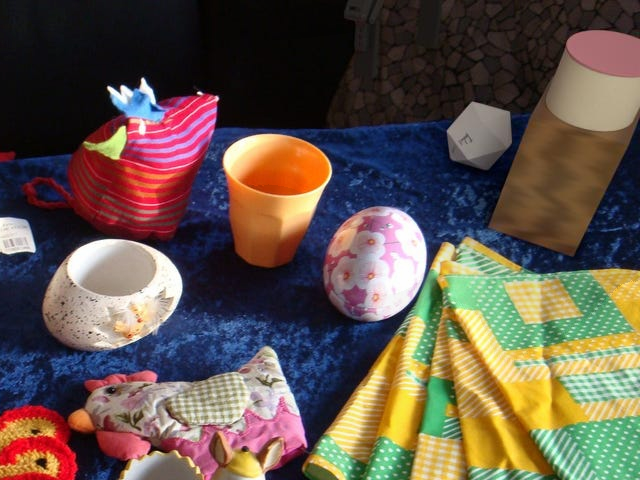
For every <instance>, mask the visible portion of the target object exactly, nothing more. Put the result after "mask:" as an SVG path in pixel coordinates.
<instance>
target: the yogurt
mask: <svg viewBox="0 0 640 480" xmlns="http://www.w3.org/2000/svg"><path fill="white" fill-rule="evenodd" d="M553 76H554V79H553V81H552V84H551V86H550V89H549V91H548V94H547V96H546V105H547V107H548V109H549V110H550V111H551V113H552V114H554V115H555V116H556V117H557V118H559V119H561V120H562V121H564V122H566V123H568V124H571V125H573V126H576V127H579V128H583V129H587V130H592V131H616V130H620V129H623V128H626V127H627V126H629V125H630V124H631V123H632V122H633V120H634V118H635V116H636V114H637V112H638V110H639V108H640V38H638V37H636V36H633V35H630V34H626V33H622V32H618V31H613V30H602V29H593V30H585V31H580V32H577V33H574V34H573V35H571V36H570V37H569V38H568V39H567V40H566V44H565V48H564V51H563V53H562V56H561V59H560V61H559V64H558V66H557V68H556V71H555V74H554V75H553Z"/></svg>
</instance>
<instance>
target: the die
mask: <svg viewBox="0 0 640 480" xmlns="http://www.w3.org/2000/svg"><path fill="white" fill-rule="evenodd" d="M446 137H447V144H448V152H449V158H450V160H451V161H452V162H456V163H459V164H463V165H465V166H469V167H473V168H476V169H480V170H483V171H488V170H490V169H491V167H493V165H494V164H495V163H496V162H497V161H498V160H499V159H500V158H501V157H502V155H503V154H504V153H505V152H506V151H507V150H508V149H509V147H510V146H511V145H512V142H513V141H512V140H513V139H512V138H513V136H512V122H511V111H509V110H504V109H501V108H497V107H495V106H490V105H487V104H483V103H479V102H476V101H471V102H470V103H469V104H468V106H467V107H466V108H464V110H463V111H462V112H461V114H460V115H459V116H458V117H457V118H456V119H455V120H454V122H453V123H452V124H451V125H450V126H449V127H448V128H447V130H446Z"/></svg>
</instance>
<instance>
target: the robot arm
mask: <svg viewBox="0 0 640 480" xmlns="http://www.w3.org/2000/svg"><path fill="white" fill-rule="evenodd" d="M385 1H386V0H347V3H346V5H345V9H344V12H343V18H344V19H345V20H349V21H354V22H355V31H354V34H355V35H354V44H353V45H354V57H353V58H354V59H353V70H352V71H353V73H352V74H353V75H355V76H358V77H363V78H366V79H370V80H372V79H374V78H376V73H377V61H378V49H379V40H380V39H379V38H380V28H381V27H380V26H381V21H378V20H376V19H377V18H378V16H379V14H380V12H381V9H382V7H383V5H384V3H385ZM443 3H444V0H420V3H419V13H418V20H417V28H416V29H417V30H416V39H415V46H421V47H425V48H431V49H437V48H438V42H439V34H440V27H441V21H442V20H441V19H442V11H443Z"/></svg>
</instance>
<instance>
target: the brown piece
mask: <svg viewBox="0 0 640 480" xmlns="http://www.w3.org/2000/svg"><path fill="white" fill-rule="evenodd" d="M554 76H555V75H553V76H552V77H551V79H550V81H549V83H548V84H547V86H546V88H545V89H544V92H543V93H542V95H541V97H540V98H539V101H538V102H537V104H536V106H535V108H534V109H533V111H532V113H531V115H530V117H529V119H528V121H527V125H526V128H525V130H524V133H523V135H522V137H521V139H520V143H519V145H518V148H517V150H516V153H515V156H514V158H513V161H512V163H511V166H510V169H509V171H508V174H507V177H506V179H505V182H504V184H503V186H502V189H501V192H500V195H499V197H498V199H497V203H496V205H495V207H494V211H493V212H492V215H491V218H490V220H489V223H488V226H487V229H489V230H493V231H496V232H500V233H502V234H505V235H508V236H510V237H513V238H516V239H520V240H522V241H525V242H529V243H531V244H535V245H538V246H539V247H543V248H546V249H549V250H552V251H555V252H558V253H561V254H564V255H567V256H569V257H574V255H575V254H576V252H577V249H578V248H579V245H580V244H581V242H582V239H583V237H584V236H585V233H586V231H587V230H588V227H589V226H590V223H591V221H592V220H593V217H594V215H595V214H596V212H597V209H598V207H599V205H600V203H601V201H602V200H603V198H604V195H605V193H606V191H607V189H608V188H609V185H610V183H611V181H612V179H613V177H614V175H615V174H616V171H617V169H618V167H619V165H620V163H621V161H622V159H623V157H624V155H625V153H626V151H627V149H628V148H629V145H630V142H631V140H632V137H633V135H634V133H635V130H636V127H637V125H638V122H639V121H640V120H639V119H640V108H639V110H638V112H637V114H636V116H635V118H634V120H633V122H632V123H631V124H630V125H629V126H627V127H626V128H623V129H620V130H616V131H592V130H587V129H583V128H579V127H576V126H573V125H571V124H568V123H566V122H564V121H562V120H561V119H559V118H557V117H556V116H555V115H554V114H552V113H551V111H550V110H549V109H548V107H547V105H546V96H547V94H548V91H549V89H550V86H551V84H552V81H553V79H554Z"/></svg>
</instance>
